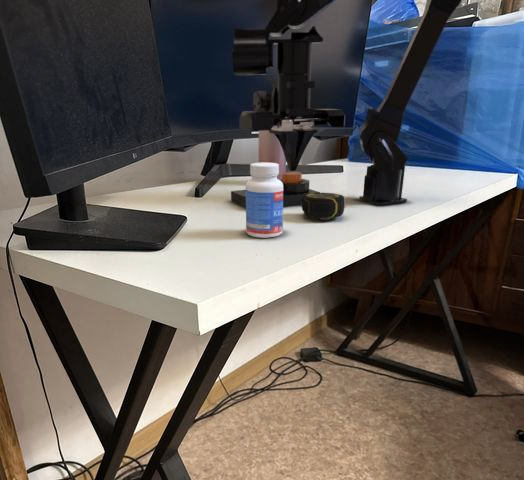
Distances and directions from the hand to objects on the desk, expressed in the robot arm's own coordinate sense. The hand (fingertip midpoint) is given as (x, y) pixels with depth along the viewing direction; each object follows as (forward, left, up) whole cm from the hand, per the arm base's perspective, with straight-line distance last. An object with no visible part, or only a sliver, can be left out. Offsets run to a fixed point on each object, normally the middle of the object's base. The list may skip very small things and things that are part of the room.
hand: (292, 170), depth 94 cm
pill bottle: (+16, +19, -6) cm, 25 cm away
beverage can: (-5, -18, -6) cm, 20 cm away
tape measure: (+3, +14, -6) cm, 15 cm away
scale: (+4, 0, -5) cm, 6 cm away
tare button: (0, 0, -2) cm, 2 cm away
